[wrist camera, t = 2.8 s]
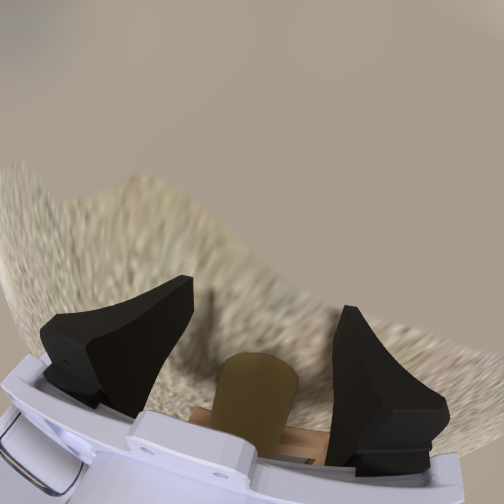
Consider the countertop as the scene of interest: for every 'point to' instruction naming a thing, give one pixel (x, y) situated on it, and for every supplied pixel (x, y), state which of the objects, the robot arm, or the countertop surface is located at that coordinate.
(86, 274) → the countertop surface
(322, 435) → the holder
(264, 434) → the cork
